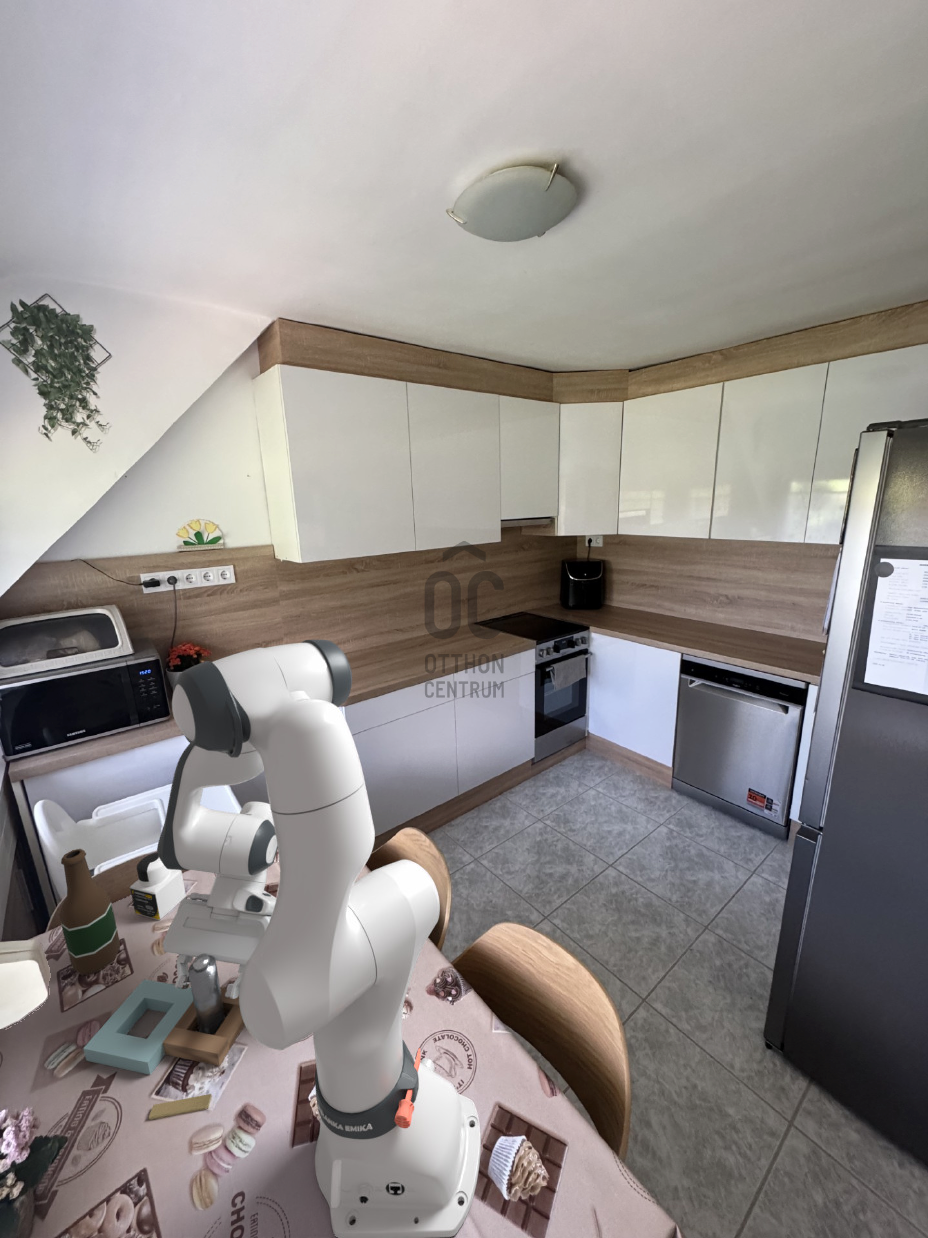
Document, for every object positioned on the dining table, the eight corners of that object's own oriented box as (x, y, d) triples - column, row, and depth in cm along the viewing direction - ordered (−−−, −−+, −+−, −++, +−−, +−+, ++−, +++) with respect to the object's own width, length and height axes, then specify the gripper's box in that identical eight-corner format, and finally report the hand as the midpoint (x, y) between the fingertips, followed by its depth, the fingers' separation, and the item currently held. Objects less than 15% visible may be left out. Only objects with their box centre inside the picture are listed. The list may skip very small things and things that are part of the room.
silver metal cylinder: (231, 1018, 85) (219, 951, 82) (215, 1043, 81) (203, 973, 78) (210, 1015, 86) (198, 947, 83) (194, 1038, 82) (181, 969, 79)
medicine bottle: (134, 914, 108) (124, 867, 106) (162, 890, 115) (153, 845, 112) (159, 921, 106) (150, 873, 103) (186, 896, 113) (178, 851, 110)
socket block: (257, 1004, 88) (255, 993, 87) (219, 1066, 78) (217, 1054, 77) (207, 995, 89) (205, 984, 89) (165, 1054, 80) (162, 1042, 79)
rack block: (203, 1001, 89) (201, 989, 88) (150, 1075, 77) (147, 1062, 76) (146, 990, 91) (144, 979, 90) (86, 1060, 79) (83, 1048, 79)
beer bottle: (130, 943, 101) (108, 841, 96) (99, 978, 93) (73, 869, 88) (95, 941, 102) (71, 839, 96) (62, 976, 94) (34, 867, 89)
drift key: (212, 1099, 74) (211, 1094, 74) (208, 1110, 73) (207, 1105, 72) (154, 1110, 73) (153, 1105, 73) (149, 1122, 71) (148, 1117, 71)
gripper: (174, 890, 88) (138, 985, 81) (277, 904, 84) (250, 1005, 77) (195, 892, 94) (164, 981, 86) (294, 906, 90) (269, 1001, 83)
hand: (205, 993), depth 82 cm, fingers open, 8 cm apart
